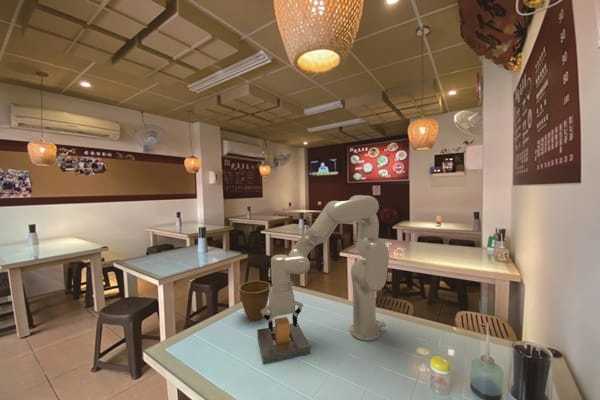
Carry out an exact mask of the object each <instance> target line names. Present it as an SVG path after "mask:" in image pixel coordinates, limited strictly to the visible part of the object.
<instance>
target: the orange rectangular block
mask: <svg viewBox="0 0 600 400" xmlns="http://www.w3.org/2000/svg"><path fill="white" fill-rule="evenodd" d="M290 324H291V323H290V321H289V319H288V317H287V316H282V317H276V318H274V327H275V340H274V341H275V343H274V344H275V345H278V344H283V343H288V342H291V340H290Z"/></svg>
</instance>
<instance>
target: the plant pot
mask: <svg viewBox="0 0 600 400" xmlns="http://www.w3.org/2000/svg"><path fill="white" fill-rule="evenodd" d="M238 289H239V296H240V300H241V303H242V304H241V305H242V306H243V310H244V312H245V315H246V318H247V320H248V321H250V322H259V321H261V320H262V319H263V318H264V317H263V315H262V314H261V310H262V309H264V308H265V307H266V306H268V303H269V295H270V289H271V285H270V283H269V282H267V281H263V280H251V281H247V282H244V283H242V284H241V285H240V286H239V288H238Z"/></svg>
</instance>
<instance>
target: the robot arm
mask: <svg viewBox="0 0 600 400" xmlns="http://www.w3.org/2000/svg"><path fill="white" fill-rule="evenodd" d="M379 208H380V205H379V202H378V200H377V198H376V197H373V196H371V195H363V194H362V195H361V194H356V195H353V196H351V197H350V198H349V199H348V200H342V201H341V200H331V201H329V202H327V204H325V206H324V207H323V209H321V212H320V213H319V215H318V216H317V218H316V219H315V221H314V222H313V224H312V225H311V226H310V228H309V229H307V230H306V231H305V233H304V234H303V235H302V236H301V237H300V238H299V239H298V240H297V241H296V243H295V244H294V245H293V247H292V248H291V250H290V252H289V253H288V255H287V254H275V255H273V256H272V257H271V258H270V267H271V268H270V270H271V288H270V290H269V297H268V304H267V306H266V307H265V308H264V309H262V310H261V314H262V315H263V318H264V319H265V320H266V321H267V322H268V327H267V328H269V329H270V330H271V332H272V331H273V327H274V326H273V325H274V322H273V319H275V317H281V316H285V315H291V314H292V323H293V325H294V327H296V323H298V316H299V314H300V313H301V312H302V309H303V307H304V304H303V302H300V301H297V300H295V294H294V290H293V287H292V286H294V285H295V282H294V281H291V275H304V274H306V273H307V272H309V270H310V268H311V262H310V260H309V258H308V255H309V254H310V252H311V251H313V249H314V248H315V247H316V246H317V245H320V244H322V243H325V242H326V241H328V240H329V238H330V237H331V235H332V234H333V232H334V230H335V229H336V228H337V226H338V225H339V224H347V223H351V222H356V221H357V222H358V227H357V228H358V229H357V239H356V247H355V248H356V253H357V255H359V256H361V257H362V258H363V259H357V260H356V261H354V262H353V264H352V266H351V268H350V269H351V270H350V276H351V283H352V314H353V316H352V319H353V320H352V321H353V322H352V323H353V324H351V325H350V327H349V333H350V334H351V336H353V338H356V339H357V340H360V341H364V342H365V341H366V342H368V341H369V342H371V341H374V340H377V339H378V338H380V328H385V327H386V326H387V324H386V322H385V321H381V322H380V320H379V319H377V318H376V316H377V314H376V313H377V312H376V310H377V309H376V307H377V306H376V305H377V302H376V300H377V299H376V293H377V292H379V291H380V290H382V289H383V288H384V286H385V285H386V281H387V276H388V269H389V263H390V262H389V259H390V251H389V248H388V245H387V244H386V243H385V242H384V241H382V240H380V239H379V231H380V230H379V229H380V223H379V222H380V221H379V218H378V215H377V213H378V211H379ZM296 306H297V308H296ZM268 311H269V314H268V313H267V312H268Z"/></svg>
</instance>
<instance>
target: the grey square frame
mask: <svg viewBox="0 0 600 400" xmlns="http://www.w3.org/2000/svg"><path fill="white" fill-rule="evenodd" d="M256 330H257V334H256V335H257V341H258V345H259V350H260V355H261V359H262V364H263V365H266V364H271V363H276V362H280V361H284V360H289V359H294V358H298V357H302V356H307V355H311V345H310V343H309V341H308V339H307V338H306V336H305V334H304V332H303V329H301V327H300V325H299V323H298V322H297V323H296V327H294V325H293V322H292V323H290V342H288V343H283V344H278V345H276V344H275V343H274V341H275V326H273V331H272V332H271V330H270V329H269V327H265V328H259V329H256Z"/></svg>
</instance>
